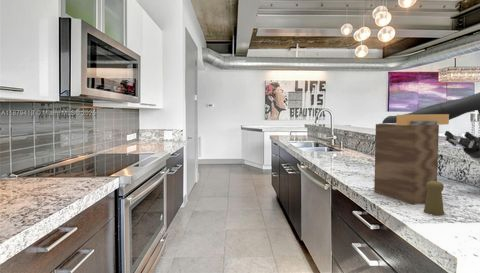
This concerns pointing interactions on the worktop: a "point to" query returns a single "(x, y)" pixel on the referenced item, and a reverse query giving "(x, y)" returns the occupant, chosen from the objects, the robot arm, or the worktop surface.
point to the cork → (434, 198)
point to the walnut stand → (406, 160)
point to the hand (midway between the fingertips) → (455, 133)
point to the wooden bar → (422, 118)
